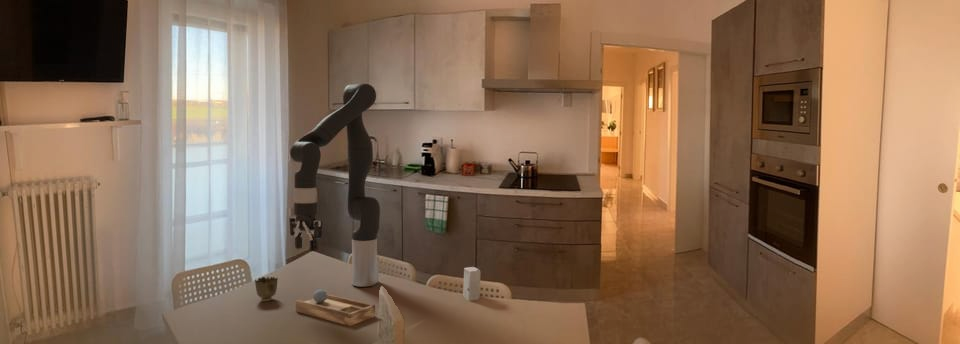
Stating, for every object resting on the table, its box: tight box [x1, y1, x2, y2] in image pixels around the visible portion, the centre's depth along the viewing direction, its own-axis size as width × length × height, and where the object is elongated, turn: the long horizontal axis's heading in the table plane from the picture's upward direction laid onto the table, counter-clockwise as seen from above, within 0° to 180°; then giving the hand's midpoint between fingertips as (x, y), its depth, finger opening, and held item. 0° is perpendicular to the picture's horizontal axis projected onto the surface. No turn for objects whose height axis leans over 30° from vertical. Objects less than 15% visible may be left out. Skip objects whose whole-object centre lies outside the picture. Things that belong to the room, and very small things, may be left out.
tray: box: [295, 293, 376, 327], centre depth 178 cm, size 11×25×4 cm, turn 58°
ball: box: [312, 289, 328, 303], centre depth 181 cm, size 4×4×4 cm
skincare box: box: [462, 266, 482, 302], centre depth 192 cm, size 6×4×12 cm
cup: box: [254, 276, 279, 303], centre depth 190 cm, size 8×7×8 cm
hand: (305, 249), depth 184 cm, fingers open, 6 cm apart
